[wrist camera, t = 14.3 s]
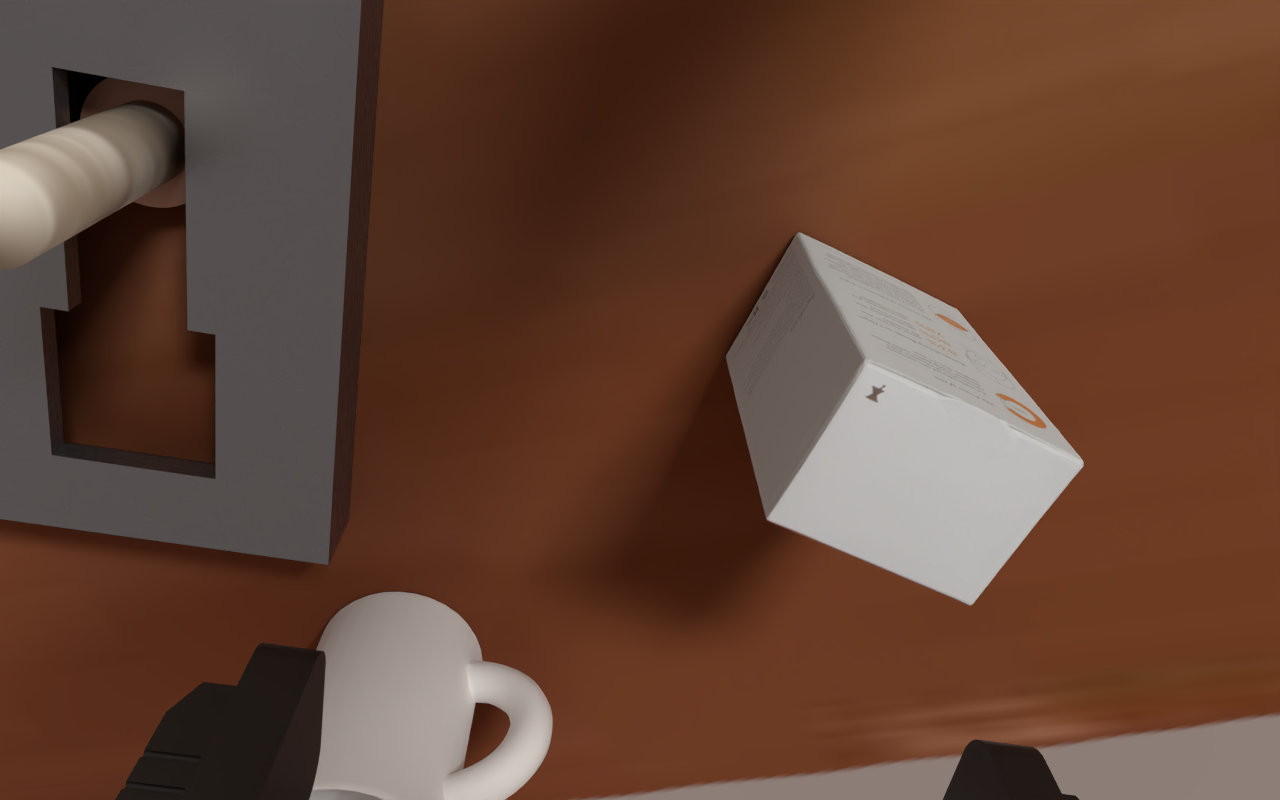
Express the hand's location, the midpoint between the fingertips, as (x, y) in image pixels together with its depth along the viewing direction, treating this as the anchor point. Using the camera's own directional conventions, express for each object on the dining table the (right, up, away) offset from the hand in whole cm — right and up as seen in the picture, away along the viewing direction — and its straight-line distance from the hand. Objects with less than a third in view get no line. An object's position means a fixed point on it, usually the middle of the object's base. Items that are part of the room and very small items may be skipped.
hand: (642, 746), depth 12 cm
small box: (+9, +7, +30) cm, 32 cm away
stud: (-18, +15, +26) cm, 35 cm away
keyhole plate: (-19, +11, +28) cm, 36 cm away
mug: (-10, -8, +37) cm, 40 cm away
